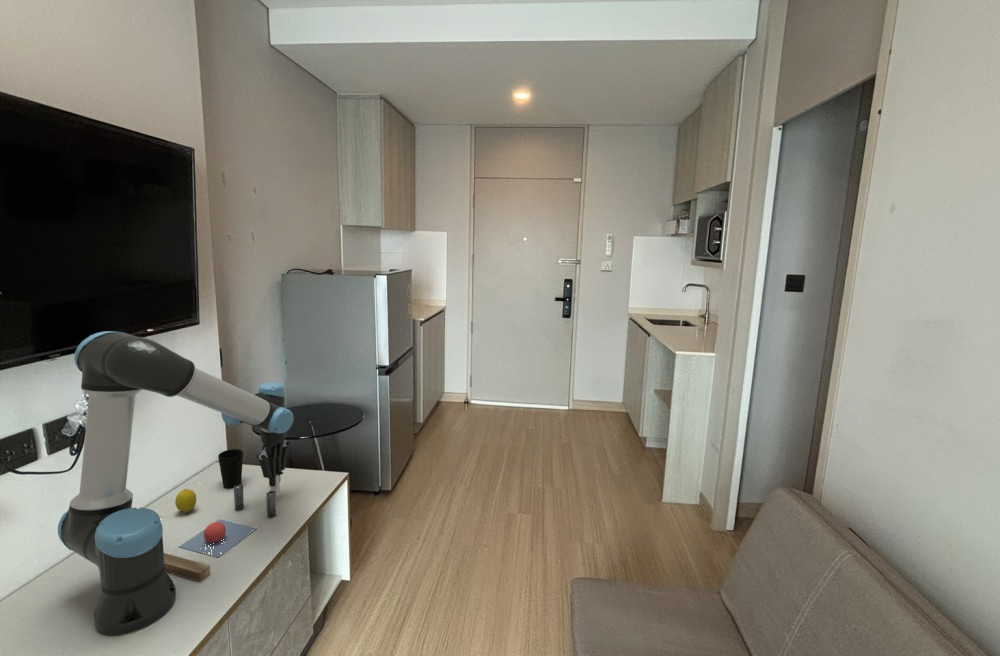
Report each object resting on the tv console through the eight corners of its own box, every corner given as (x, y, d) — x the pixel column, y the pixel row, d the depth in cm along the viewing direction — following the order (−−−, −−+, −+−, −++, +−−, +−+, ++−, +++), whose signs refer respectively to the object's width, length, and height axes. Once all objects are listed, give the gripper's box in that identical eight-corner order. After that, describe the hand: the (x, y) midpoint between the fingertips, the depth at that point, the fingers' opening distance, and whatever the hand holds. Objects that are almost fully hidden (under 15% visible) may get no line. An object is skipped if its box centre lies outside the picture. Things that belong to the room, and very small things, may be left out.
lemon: (201, 508, 148) (199, 485, 147) (188, 517, 143) (186, 494, 141) (185, 506, 149) (183, 483, 147) (171, 516, 143) (170, 492, 142)
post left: (239, 511, 148) (238, 488, 146) (232, 509, 148) (231, 487, 147) (245, 507, 150) (244, 484, 149) (239, 505, 151) (238, 483, 149)
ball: (226, 520, 133) (232, 531, 135) (210, 516, 134) (217, 527, 137) (211, 536, 128) (218, 548, 131) (195, 532, 129) (203, 544, 132)
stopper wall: (200, 581, 117) (199, 573, 117) (140, 564, 122) (139, 556, 121) (210, 573, 120) (209, 565, 119) (151, 557, 125) (150, 549, 124)
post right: (272, 518, 145) (271, 495, 143) (265, 517, 145) (264, 494, 144) (278, 514, 147) (277, 491, 146) (271, 512, 148) (270, 490, 146)
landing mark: (218, 558, 126) (218, 557, 126) (178, 547, 129) (178, 546, 129) (257, 528, 139) (257, 528, 139) (219, 519, 143) (219, 519, 143)
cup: (221, 481, 165) (219, 450, 163) (245, 478, 168) (243, 447, 166) (218, 492, 158) (216, 460, 156) (243, 488, 161) (242, 456, 159)
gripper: (277, 420, 159) (279, 481, 163) (248, 434, 146) (251, 500, 151) (295, 423, 157) (297, 485, 161) (268, 437, 145) (270, 505, 149)
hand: (275, 492), depth 156 cm, fingers closed
